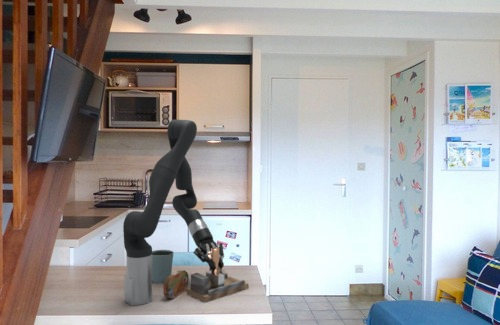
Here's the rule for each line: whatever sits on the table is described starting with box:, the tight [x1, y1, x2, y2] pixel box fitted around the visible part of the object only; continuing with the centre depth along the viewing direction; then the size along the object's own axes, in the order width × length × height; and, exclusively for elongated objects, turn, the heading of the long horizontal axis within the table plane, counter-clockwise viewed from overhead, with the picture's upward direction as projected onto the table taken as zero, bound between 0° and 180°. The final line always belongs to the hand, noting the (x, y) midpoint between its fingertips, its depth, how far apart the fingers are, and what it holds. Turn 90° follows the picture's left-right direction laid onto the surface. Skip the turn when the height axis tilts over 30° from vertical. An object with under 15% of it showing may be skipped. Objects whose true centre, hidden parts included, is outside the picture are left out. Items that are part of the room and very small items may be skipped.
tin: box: [162, 269, 190, 300], centre depth 150 cm, size 15×3×8 cm, turn 159°
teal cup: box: [152, 249, 174, 284], centre depth 166 cm, size 10×10×12 cm
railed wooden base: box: [186, 272, 250, 303], centre depth 153 cm, size 22×12×8 cm, turn 133°
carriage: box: [205, 248, 224, 288], centre depth 152 cm, size 3×8×15 cm, turn 43°
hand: (218, 268), depth 151 cm, fingers closed on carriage, 3 cm apart
